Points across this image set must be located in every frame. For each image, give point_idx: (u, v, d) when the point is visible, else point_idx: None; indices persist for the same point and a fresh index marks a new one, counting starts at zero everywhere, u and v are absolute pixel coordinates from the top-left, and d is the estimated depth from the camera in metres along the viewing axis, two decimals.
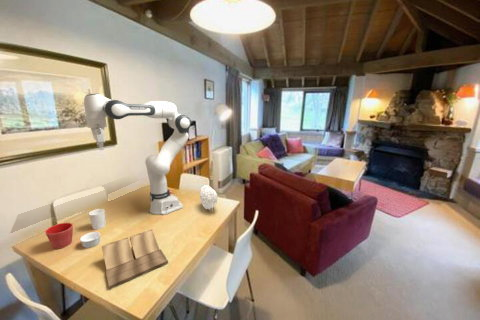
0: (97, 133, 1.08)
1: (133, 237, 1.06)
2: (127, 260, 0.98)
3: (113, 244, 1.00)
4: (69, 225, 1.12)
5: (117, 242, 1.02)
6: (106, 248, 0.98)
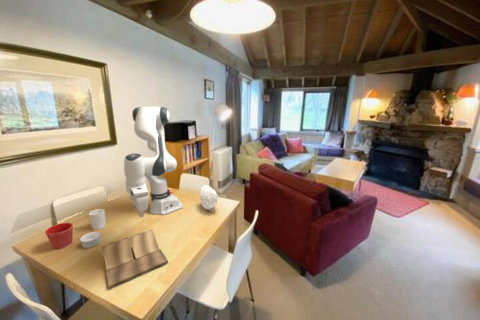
0: None
1: (133, 237, 1.06)
2: (127, 260, 0.98)
3: (113, 244, 1.00)
4: (69, 225, 1.12)
5: (117, 242, 1.02)
6: (106, 248, 0.98)
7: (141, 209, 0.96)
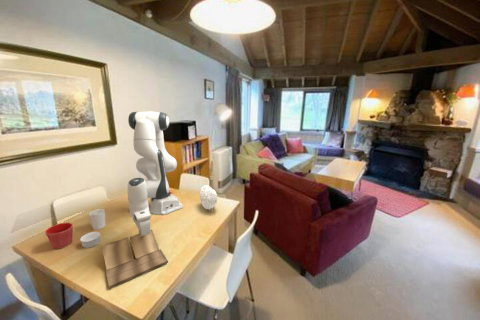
0: None
1: (133, 237, 1.06)
2: (127, 260, 0.98)
3: (113, 244, 1.00)
4: (69, 225, 1.12)
5: (117, 242, 1.02)
6: (106, 248, 0.98)
7: (144, 233, 0.99)
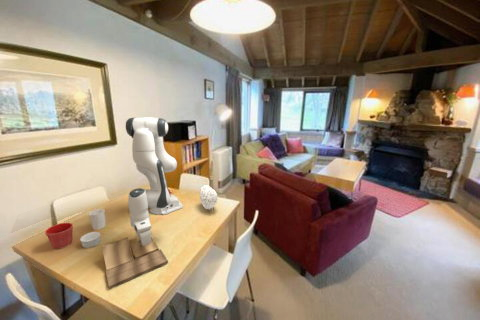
0: None
1: (133, 244, 1.09)
2: (127, 260, 0.98)
3: (113, 244, 1.00)
4: (69, 225, 1.12)
5: (117, 242, 1.02)
6: (106, 248, 0.98)
7: (145, 243, 1.00)
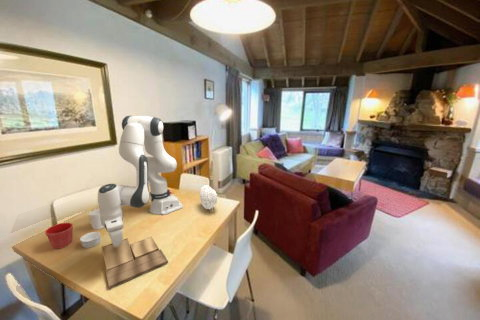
0: None
1: (133, 244, 1.09)
2: (127, 260, 0.98)
3: None
4: (69, 225, 1.12)
5: None
6: (106, 249, 0.99)
7: (115, 244, 0.91)
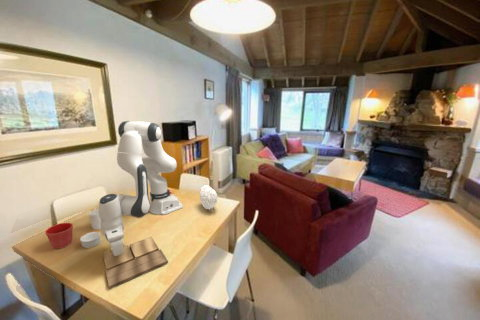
0: None
1: (133, 244, 1.09)
2: (127, 259, 0.98)
3: None
4: (69, 225, 1.12)
5: None
6: (107, 254, 1.01)
7: (116, 253, 0.93)
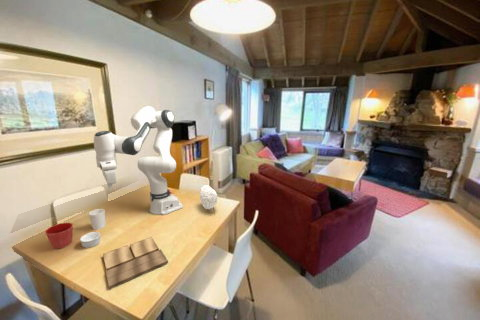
0: None
1: (133, 244, 1.09)
2: (127, 259, 0.98)
3: (114, 251, 1.04)
4: (69, 225, 1.12)
5: (117, 249, 1.05)
6: (107, 254, 1.01)
7: (109, 181, 1.03)
